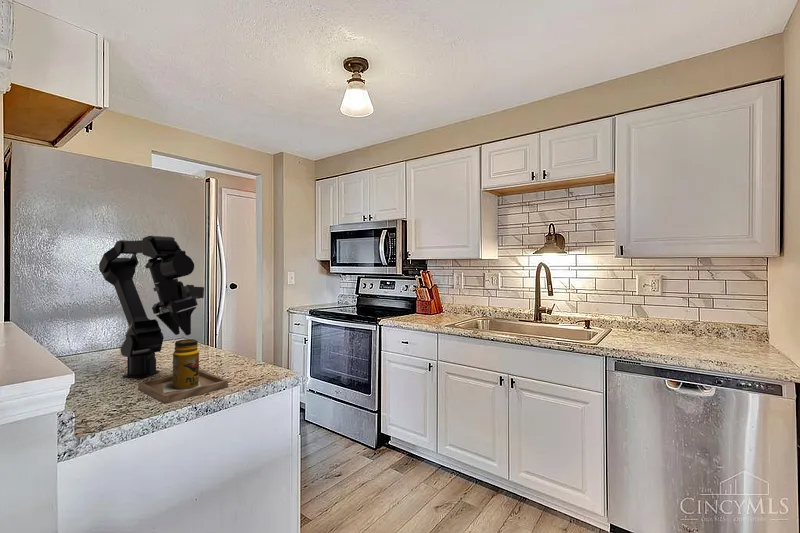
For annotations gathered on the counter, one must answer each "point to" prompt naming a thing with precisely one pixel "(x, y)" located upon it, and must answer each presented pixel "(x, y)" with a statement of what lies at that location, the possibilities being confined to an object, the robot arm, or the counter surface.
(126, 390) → the counter surface
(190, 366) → the condiment
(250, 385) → the counter surface
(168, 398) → the tray
